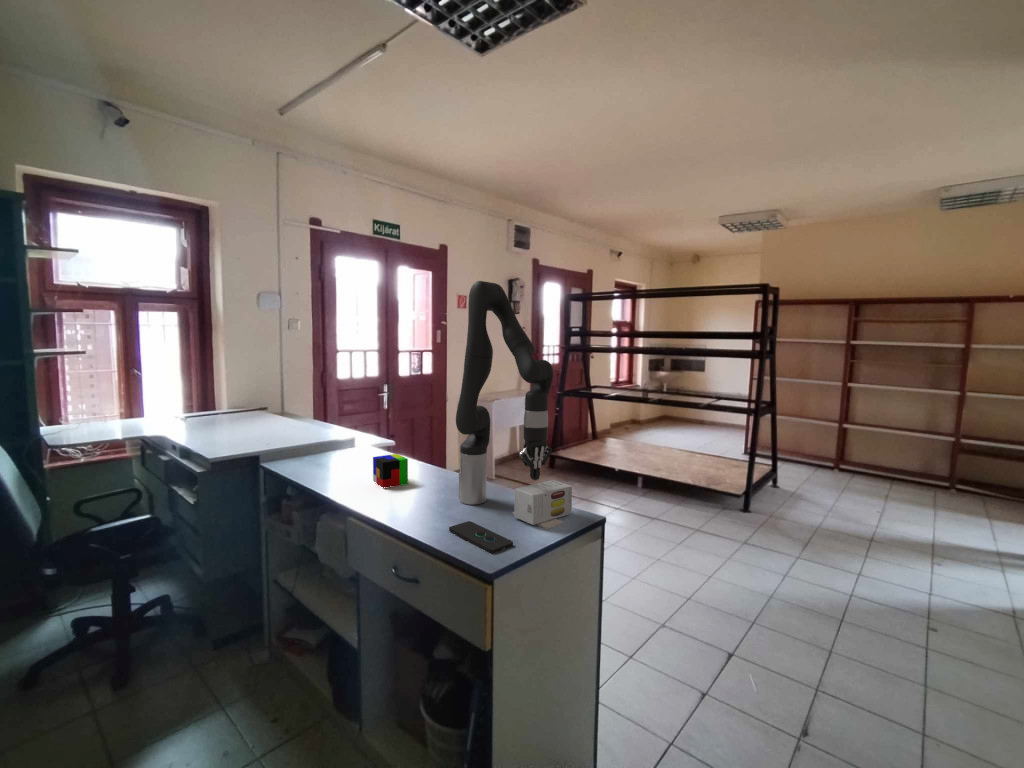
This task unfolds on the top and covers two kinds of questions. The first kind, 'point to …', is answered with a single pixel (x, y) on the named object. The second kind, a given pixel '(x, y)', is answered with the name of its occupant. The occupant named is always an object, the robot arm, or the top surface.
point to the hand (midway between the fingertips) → (534, 479)
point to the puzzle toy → (390, 470)
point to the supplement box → (543, 501)
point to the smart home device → (481, 537)
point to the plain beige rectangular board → (549, 523)
